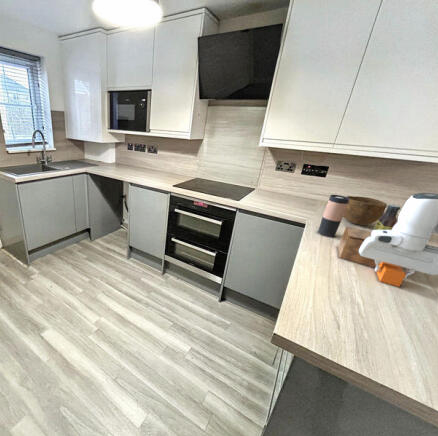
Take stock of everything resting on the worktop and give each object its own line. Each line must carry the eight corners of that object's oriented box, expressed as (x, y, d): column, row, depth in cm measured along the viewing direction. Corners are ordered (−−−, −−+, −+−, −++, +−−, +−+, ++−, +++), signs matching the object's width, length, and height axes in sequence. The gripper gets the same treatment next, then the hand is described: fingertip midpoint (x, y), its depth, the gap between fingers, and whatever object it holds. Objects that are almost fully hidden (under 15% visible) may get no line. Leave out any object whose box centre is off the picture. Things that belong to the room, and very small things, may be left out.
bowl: (360, 230, 129) (371, 204, 123) (329, 218, 146) (337, 195, 140) (385, 229, 133) (397, 204, 127) (352, 217, 150) (362, 195, 145)
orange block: (393, 276, 86) (400, 265, 85) (399, 287, 80) (406, 274, 78) (375, 271, 89) (381, 260, 87) (379, 281, 83) (385, 269, 81)
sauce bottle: (368, 240, 117) (385, 202, 110) (385, 244, 113) (404, 205, 106) (366, 243, 113) (384, 204, 106) (384, 248, 109) (404, 208, 101)
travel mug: (316, 229, 126) (328, 193, 118) (333, 233, 123) (347, 196, 116) (318, 234, 119) (332, 197, 112) (336, 238, 116) (352, 200, 109)
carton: (388, 259, 99) (399, 237, 95) (395, 273, 89) (407, 249, 85) (338, 246, 108) (346, 226, 104) (339, 257, 97) (348, 235, 94)
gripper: (448, 246, 76) (427, 282, 81) (366, 229, 87) (352, 261, 92) (457, 254, 71) (434, 291, 76) (369, 234, 82) (354, 268, 87)
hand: (388, 274), depth 84 cm, fingers closed on orange block, 5 cm apart
